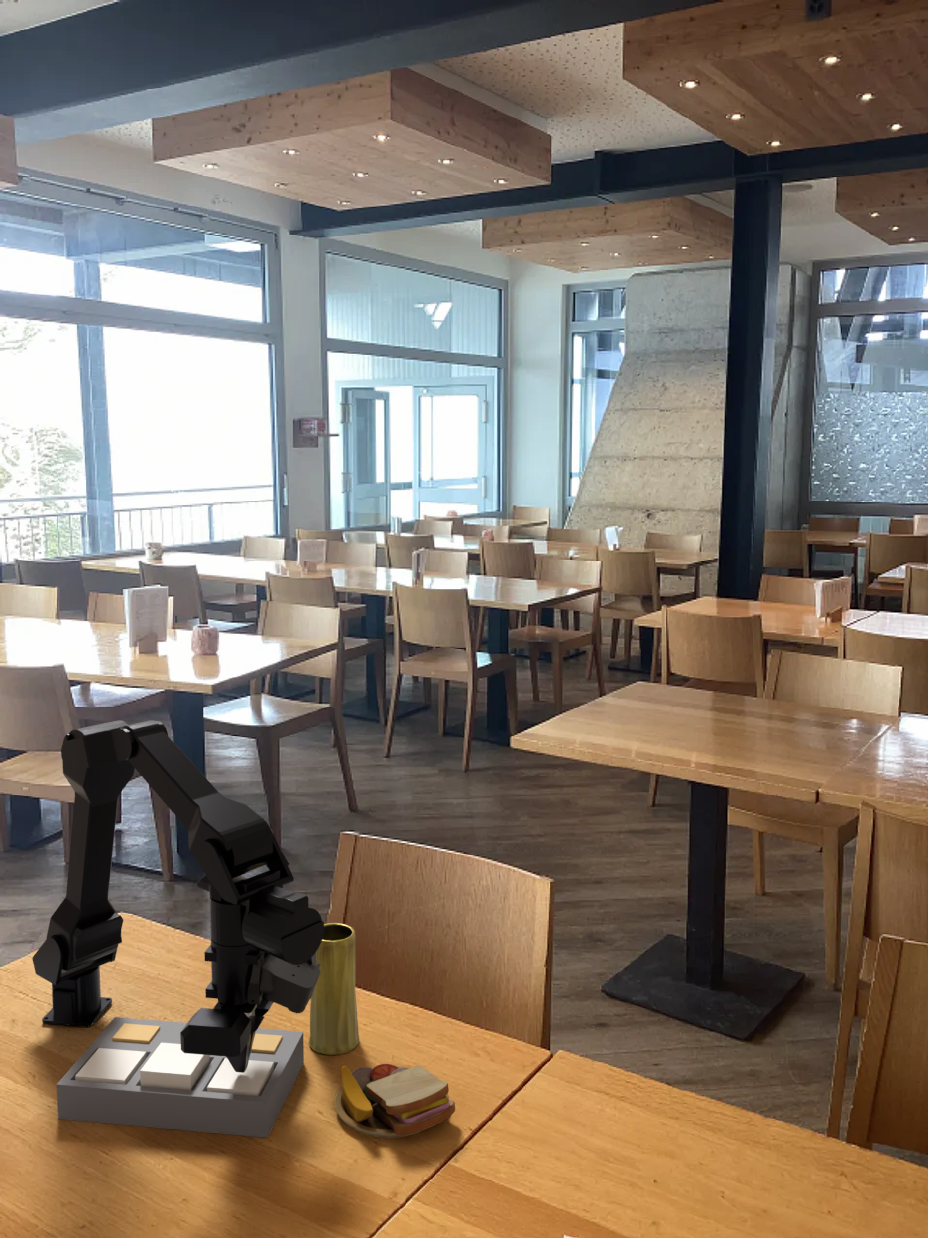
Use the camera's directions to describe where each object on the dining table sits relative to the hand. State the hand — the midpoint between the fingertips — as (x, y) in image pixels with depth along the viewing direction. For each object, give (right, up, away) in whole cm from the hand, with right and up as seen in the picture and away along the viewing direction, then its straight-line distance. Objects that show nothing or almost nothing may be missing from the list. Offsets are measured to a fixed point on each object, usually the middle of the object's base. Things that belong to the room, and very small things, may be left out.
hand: (241, 1070), depth 115 cm
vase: (+8, -3, +15) cm, 17 cm away
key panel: (-7, -4, +4) cm, 9 cm away
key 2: (0, -3, 0) cm, 3 cm away
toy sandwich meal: (+17, -5, +2) cm, 18 cm away
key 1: (-15, -3, +2) cm, 15 cm away
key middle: (-7, -1, +1) cm, 8 cm away
